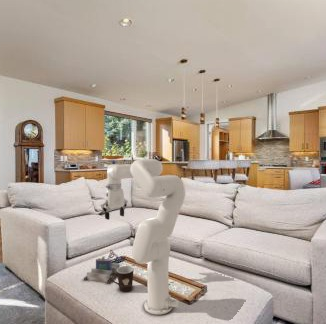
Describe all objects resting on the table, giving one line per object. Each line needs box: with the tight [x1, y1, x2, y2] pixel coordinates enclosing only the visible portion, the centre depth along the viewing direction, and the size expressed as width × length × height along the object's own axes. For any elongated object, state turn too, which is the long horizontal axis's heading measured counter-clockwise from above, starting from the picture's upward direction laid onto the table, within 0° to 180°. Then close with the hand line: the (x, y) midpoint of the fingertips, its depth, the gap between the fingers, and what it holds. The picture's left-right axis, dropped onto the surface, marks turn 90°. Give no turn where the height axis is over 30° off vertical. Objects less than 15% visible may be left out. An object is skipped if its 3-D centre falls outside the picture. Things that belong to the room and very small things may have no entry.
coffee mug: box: [108, 265, 135, 293], centre depth 131 cm, size 12×9×10 cm
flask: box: [95, 256, 112, 271], centre depth 146 cm, size 9×3×11 cm, turn 83°
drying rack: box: [83, 262, 121, 285], centre depth 146 cm, size 15×17×4 cm
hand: (114, 217), depth 141 cm, fingers open, 9 cm apart
